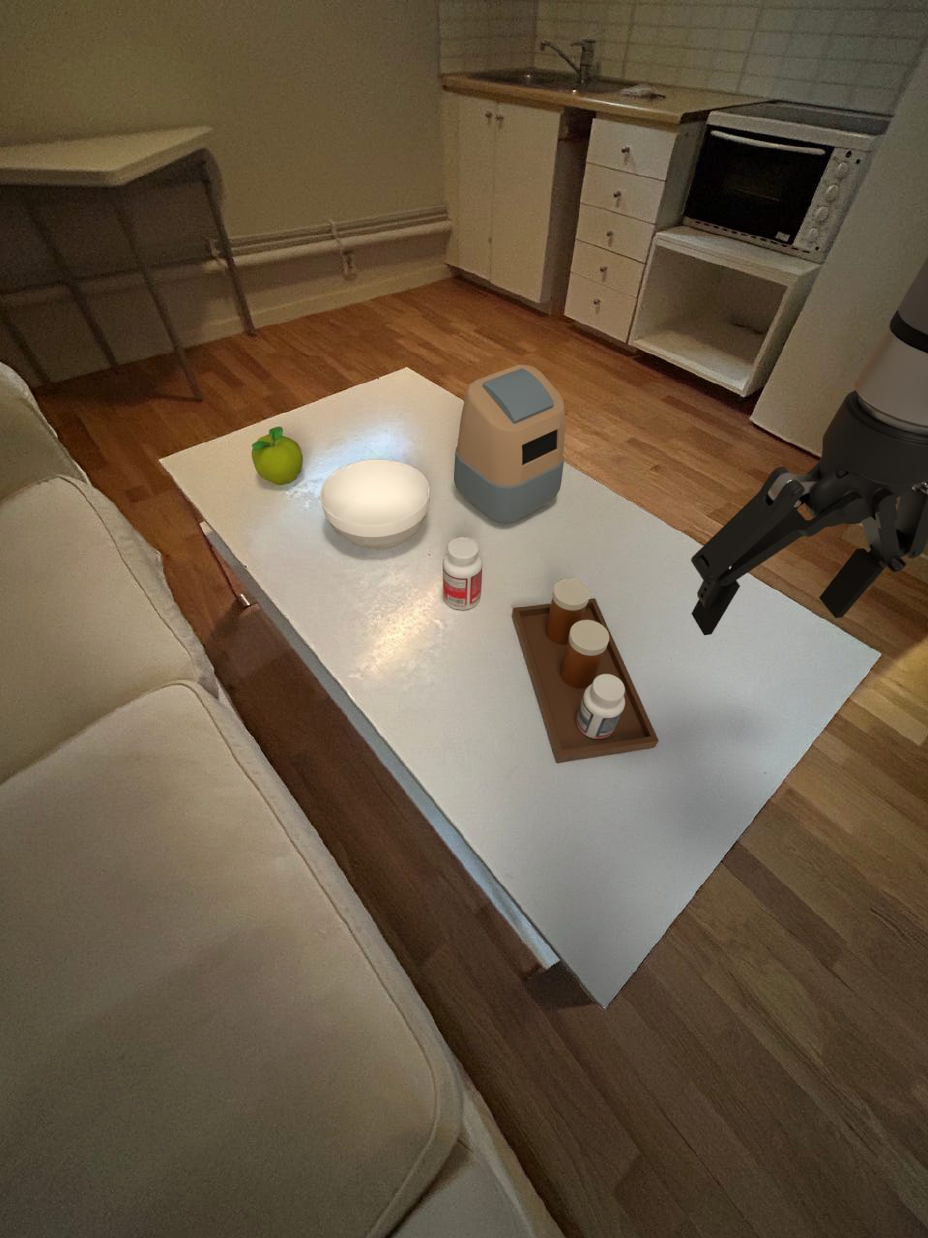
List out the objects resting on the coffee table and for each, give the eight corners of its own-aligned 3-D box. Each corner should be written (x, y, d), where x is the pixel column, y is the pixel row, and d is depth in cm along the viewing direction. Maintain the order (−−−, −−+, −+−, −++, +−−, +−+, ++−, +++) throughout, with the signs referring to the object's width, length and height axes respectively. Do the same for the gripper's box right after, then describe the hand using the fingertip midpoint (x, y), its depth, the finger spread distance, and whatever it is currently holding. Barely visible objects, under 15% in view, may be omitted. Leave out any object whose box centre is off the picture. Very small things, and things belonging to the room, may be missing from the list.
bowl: (408, 488, 108) (406, 449, 101) (448, 547, 97) (448, 507, 90) (315, 513, 102) (306, 473, 95) (346, 577, 91) (338, 538, 85)
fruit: (250, 487, 107) (235, 442, 99) (278, 462, 112) (265, 417, 105) (289, 499, 105) (277, 453, 97) (316, 473, 110) (306, 428, 103)
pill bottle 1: (474, 580, 91) (476, 530, 83) (485, 606, 88) (489, 556, 79) (438, 588, 90) (437, 537, 82) (448, 614, 86) (448, 564, 78)
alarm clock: (501, 537, 99) (513, 419, 81) (445, 492, 107) (445, 377, 89) (565, 502, 106) (588, 387, 88) (508, 463, 114) (519, 350, 96)
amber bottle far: (582, 642, 83) (595, 602, 76) (549, 647, 82) (559, 606, 75) (572, 617, 86) (583, 576, 79) (540, 621, 85) (549, 580, 78)
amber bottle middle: (600, 686, 78) (615, 647, 71) (565, 691, 77) (576, 652, 70) (588, 657, 81) (601, 617, 74) (555, 662, 80) (565, 622, 73)
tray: (654, 748, 72) (659, 740, 70) (556, 763, 70) (558, 756, 69) (592, 606, 88) (595, 598, 87) (511, 616, 87) (512, 607, 85)
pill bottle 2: (618, 715, 75) (635, 678, 68) (608, 746, 71) (625, 711, 65) (581, 700, 76) (594, 663, 69) (570, 730, 73) (582, 695, 66)
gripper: (1024, 369, 40) (857, 574, 56) (709, 390, 37) (629, 601, 53) (1120, 422, 35) (908, 629, 51) (768, 452, 32) (660, 663, 48)
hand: (766, 615), depth 52 cm, fingers open, 13 cm apart
